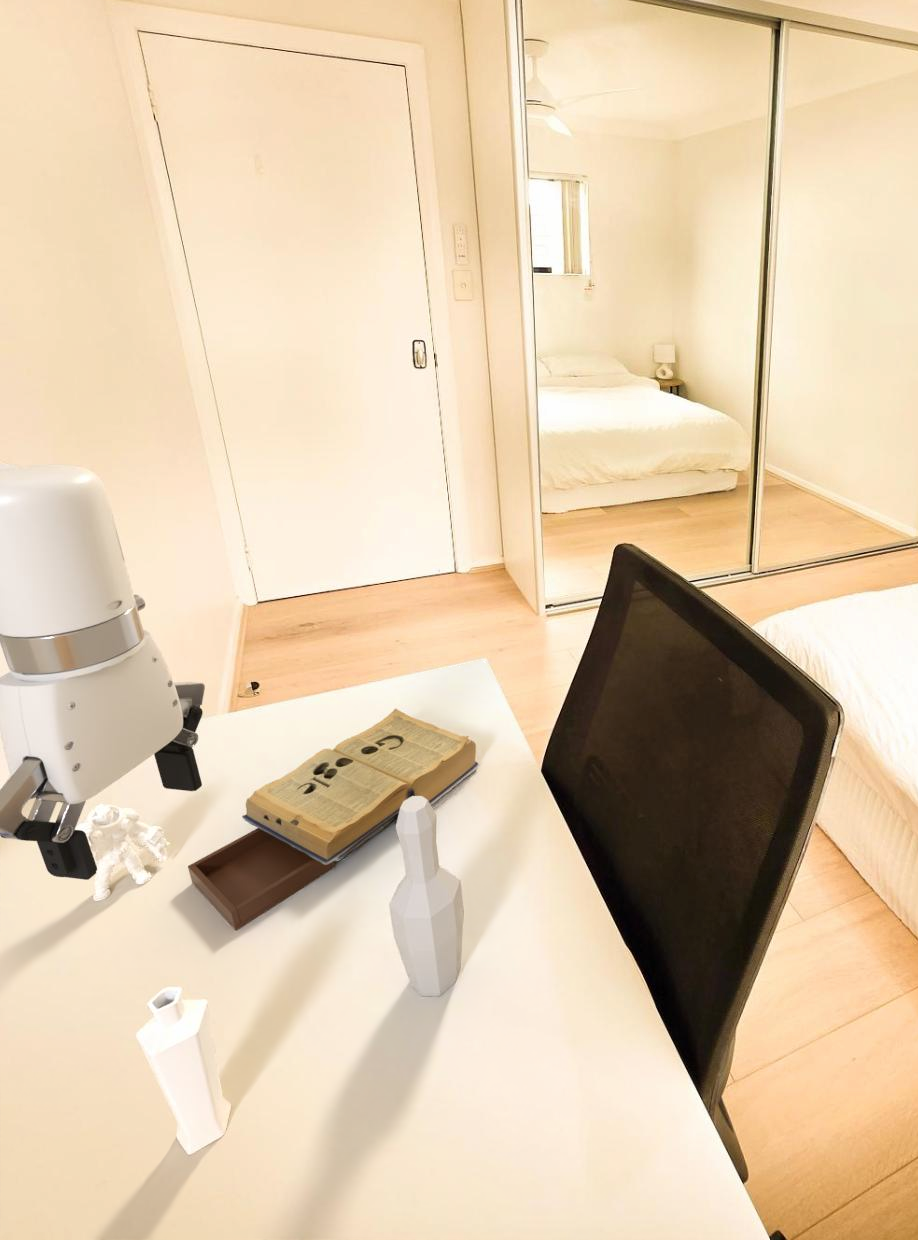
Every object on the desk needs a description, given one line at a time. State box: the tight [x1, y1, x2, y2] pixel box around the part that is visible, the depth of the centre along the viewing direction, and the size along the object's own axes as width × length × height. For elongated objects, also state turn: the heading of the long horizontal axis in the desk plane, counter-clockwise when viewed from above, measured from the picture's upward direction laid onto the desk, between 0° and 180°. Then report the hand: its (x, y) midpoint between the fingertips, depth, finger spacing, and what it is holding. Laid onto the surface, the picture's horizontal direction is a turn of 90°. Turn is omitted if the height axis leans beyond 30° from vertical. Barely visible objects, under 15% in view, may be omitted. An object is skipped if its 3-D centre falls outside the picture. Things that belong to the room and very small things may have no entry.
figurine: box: [75, 803, 170, 902], centre depth 79 cm, size 10×5×12 cm, turn 173°
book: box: [242, 708, 479, 865], centre depth 95 cm, size 25×17×6 cm
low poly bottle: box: [388, 796, 465, 997], centre depth 68 cm, size 6×6×22 cm
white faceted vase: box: [135, 986, 232, 1156], centre depth 56 cm, size 5×4×15 cm
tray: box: [187, 827, 336, 931], centre depth 83 cm, size 11×11×3 cm
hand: (133, 827), depth 55 cm, fingers open, 9 cm apart
